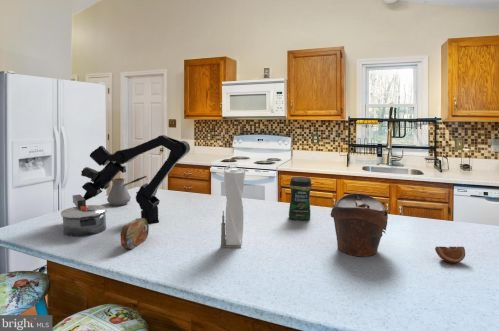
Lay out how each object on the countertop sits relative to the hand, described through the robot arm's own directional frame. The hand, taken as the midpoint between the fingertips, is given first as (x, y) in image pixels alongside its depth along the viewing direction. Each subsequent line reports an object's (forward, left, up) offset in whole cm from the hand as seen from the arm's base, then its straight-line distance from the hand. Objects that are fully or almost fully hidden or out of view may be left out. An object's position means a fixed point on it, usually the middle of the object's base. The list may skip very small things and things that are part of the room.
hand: (83, 200), depth 146 cm
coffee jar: (-88, +29, -9) cm, 93 cm away
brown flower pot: (-87, +69, -9) cm, 111 cm away
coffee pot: (-19, -25, -9) cm, 33 cm away
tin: (-18, +36, -9) cm, 41 cm away
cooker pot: (-1, +11, -9) cm, 14 cm away
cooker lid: (0, +9, -2) cm, 9 cm away
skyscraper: (-50, +48, -9) cm, 70 cm away
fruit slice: (-107, +87, -9) cm, 138 cm away
